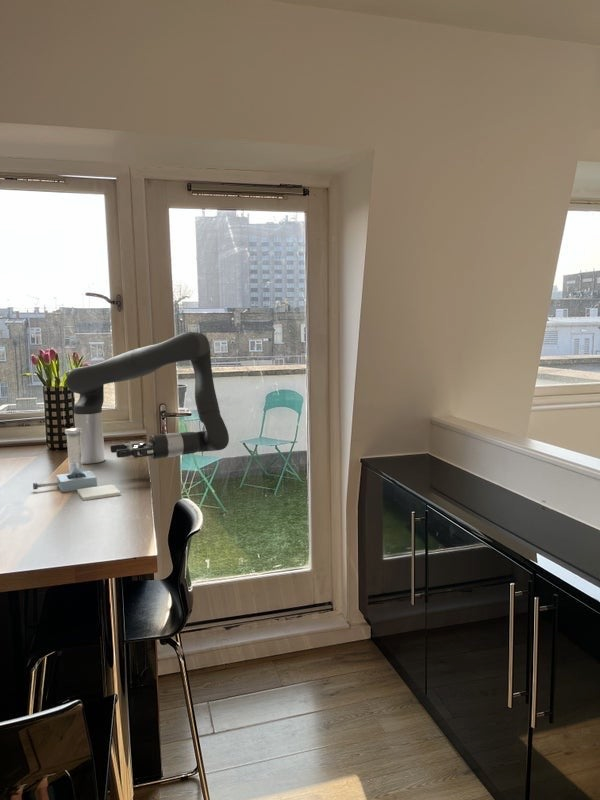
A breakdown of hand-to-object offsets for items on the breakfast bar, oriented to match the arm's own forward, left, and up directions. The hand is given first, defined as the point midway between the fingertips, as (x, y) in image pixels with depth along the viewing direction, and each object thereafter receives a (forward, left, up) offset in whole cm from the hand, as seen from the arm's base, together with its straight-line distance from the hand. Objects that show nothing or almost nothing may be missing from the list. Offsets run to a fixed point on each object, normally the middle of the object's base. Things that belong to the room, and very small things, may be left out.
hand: (113, 451), depth 188 cm
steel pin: (0, -11, -9) cm, 14 cm away
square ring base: (0, -15, -9) cm, 17 cm away
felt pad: (+12, -7, -9) cm, 17 cm away
